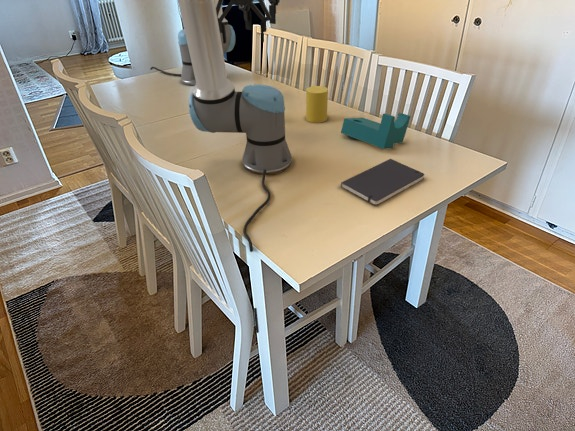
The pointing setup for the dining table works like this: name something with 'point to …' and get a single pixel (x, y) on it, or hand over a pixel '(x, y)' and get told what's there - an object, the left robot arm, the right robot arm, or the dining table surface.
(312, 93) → the can
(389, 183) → the notebook
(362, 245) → the dining table surface
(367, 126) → the teal l-shaped bracket
